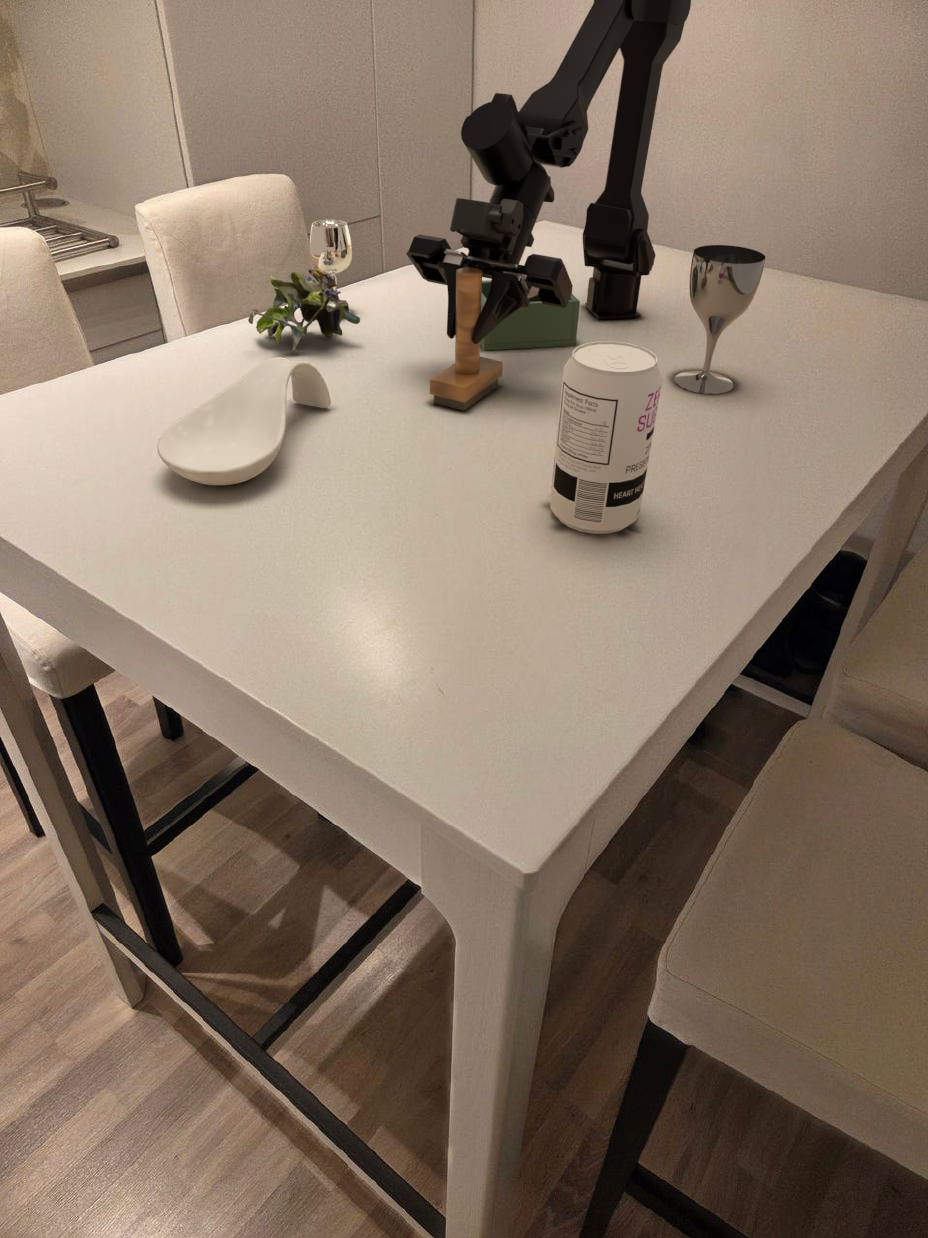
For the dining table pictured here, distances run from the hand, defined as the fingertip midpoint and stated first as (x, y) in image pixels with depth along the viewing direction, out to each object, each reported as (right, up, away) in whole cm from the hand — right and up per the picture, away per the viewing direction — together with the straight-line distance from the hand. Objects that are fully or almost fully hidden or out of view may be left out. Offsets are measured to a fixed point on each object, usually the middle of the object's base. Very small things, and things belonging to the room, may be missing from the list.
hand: (461, 339), depth 96 cm
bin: (+8, +8, +22) cm, 25 cm away
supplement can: (+12, -22, -16) cm, 29 cm away
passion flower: (-20, +5, +17) cm, 27 cm away
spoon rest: (-21, -14, -7) cm, 26 cm away
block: (+8, +9, +22) cm, 25 cm away
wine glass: (+30, -2, +10) cm, 32 cm away
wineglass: (-18, +12, +27) cm, 35 cm away
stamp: (+1, -5, +5) cm, 7 cm away
